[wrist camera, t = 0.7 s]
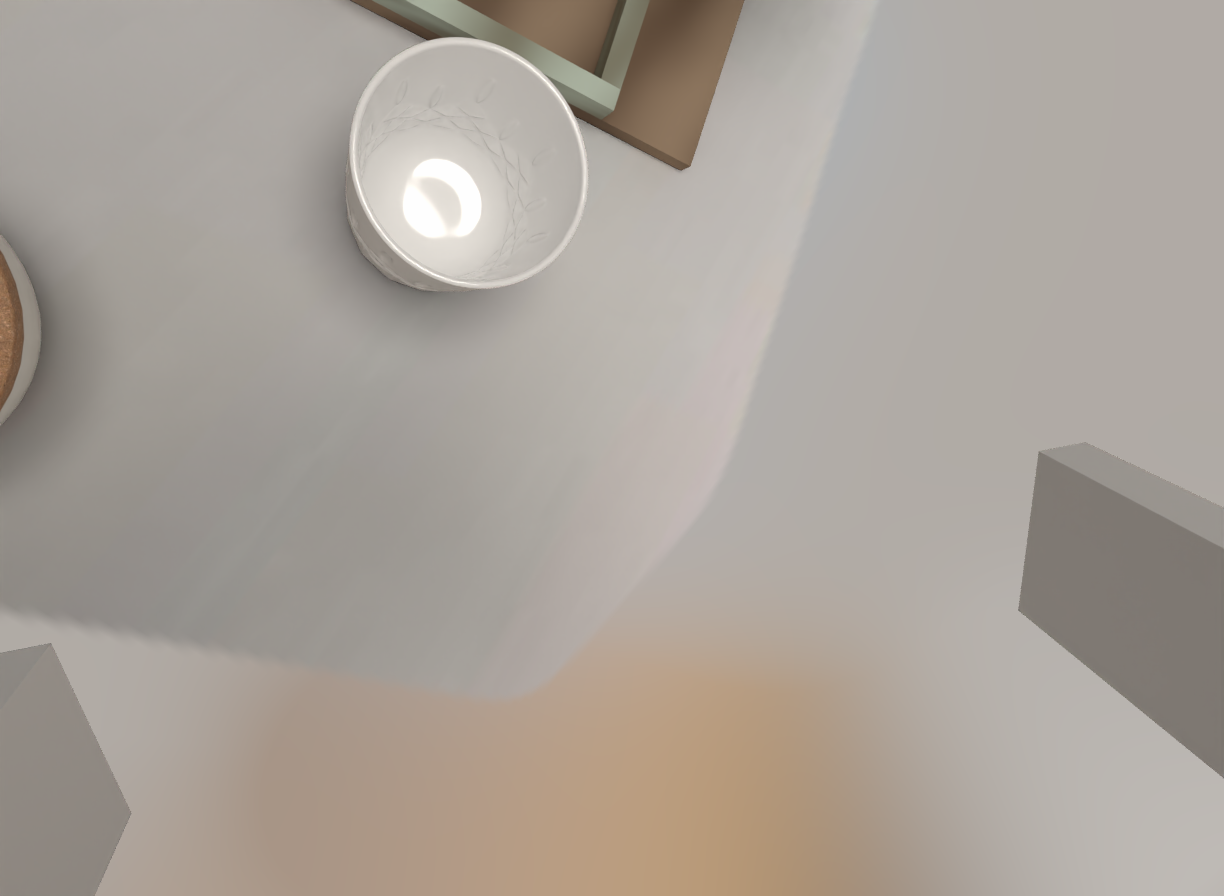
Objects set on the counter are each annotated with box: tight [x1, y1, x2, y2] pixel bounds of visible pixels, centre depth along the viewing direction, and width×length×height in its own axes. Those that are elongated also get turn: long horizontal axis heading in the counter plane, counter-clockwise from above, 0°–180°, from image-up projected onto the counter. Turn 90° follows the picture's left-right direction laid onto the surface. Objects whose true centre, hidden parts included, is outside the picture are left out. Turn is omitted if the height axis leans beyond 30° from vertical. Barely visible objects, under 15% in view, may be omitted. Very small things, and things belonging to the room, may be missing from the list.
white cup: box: [345, 37, 589, 292], centre depth 30 cm, size 8×8×10 cm
